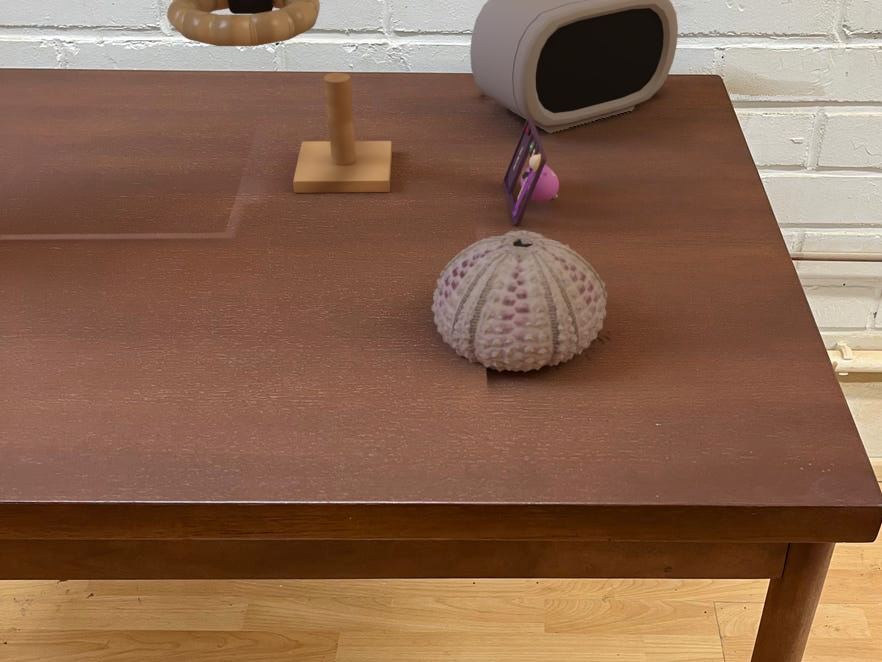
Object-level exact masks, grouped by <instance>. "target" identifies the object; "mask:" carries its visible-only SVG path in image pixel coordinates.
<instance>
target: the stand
mask: <svg viewBox="0 0 882 662" xmlns="http://www.w3.org/2000/svg"><path fill="white" fill-rule="evenodd" d="M323 82H324V84H323V85H324V92H325V94H324V95H325V105H326V115H327V126H328V136H329V141H327V140H324V141H323V140H322V141H321V140H320V141H318V140H317V141H311V140H309V141H301V143H300V144H301V145H300V148H299V153H298V158H297V162H296V167H295V170H294V171H295V172H294V176H293V181H292V183H293V191H294V193H295V194H315V193H316V194H318V193H319V194H321V193H323V194H324V193H327V194H328V193H329V194H331V193H332V194H333V193H334V194H335V193H390V192H391V176H392V159H393V158H392V157H393V144H392V143H393V142H392V140H359V141H358V140H356V138H355V137H356V135H355V122H354V110H353V109H354V108H353V97H352V96H353V95H352V84H351V83H352V82H351V76H350V75H349V74H348V73H345V72H330V73H328V74H326V75H325V76H324V77H323Z"/></svg>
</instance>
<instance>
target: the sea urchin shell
mask: <svg viewBox="0 0 882 662" xmlns="http://www.w3.org/2000/svg"><path fill="white" fill-rule="evenodd" d="M436 284H437V285H436V288H435V289H434V292H433V296H432V299H433V303H432V305H431V306H430V308H431V311H432V312H433V314H434V316H433V322H434V324H435V325H436V326H437V329H436V330H437V332H438V333H439V334H440V335H441V336H442V341H443V343H445V344H447V345H449V346H450V348H452V349H453V350H455V352H456V355H457V356H459V357H463V358H466V359H468V360H469V363H471V364H474V363H480V364H483V366H484V367H485V368H490V369H491V370H496V371H498V372H500V373H501V372H502V371H505V370H507V371H513V372H519V371H523V372H524V373H526V372H529V371H533V370H534V369H535V370H536V371H539V370H540V369H541V368H542V367H544V366H549V367H553V366H558V364H559V363H566V362H567V361H568V360H572V359H573V356H574V355H581V354H582V352H583V350H585V349H588V348H589V347H590V345H591V342H592V341H594V340H596V339H597V338H598V333H599V332H600V331H601V330H603V328H604V320H605V318H607V311H606V306H607V298H608V295H609V294H608V292H607V291H606V289H605V288H606V283H605V281H603V280H602V279H601V278H600V274H599V273H597V271H596V270H595V268H594V267H593V266H592V265H591V264H590V263H589V262H588V261H586V260H585V258H584V257H583V256H581V255H580V254H578V253H577V251H576V250H575V249H571V247H570V245H569V244H563V243H561V242H560V241H558V240H554V239H551V238H548V237H547V236H544V235H542V234H541V232H539V233H537V232H536V231H535V232H534V231H529V230H526V229H525V230H524V229H521V230H520V229H519V230H516V231H514V230H510V231H507V232H505V234H501V235H497V236H495V235H494V236H493V235H491V236H490V237H488V238H485V237H483V238H482V239H481V240H479V241H477V240H476V241H474V242H473V243H472V244H470V245H468V246H467V247H466V248H464V249H462V250H461V251H460V252H459V253H458V254H456V255H455V256H454V257H453V258H452V259H451V260H450V261H449V262H448V263H447V264H446V265H445V267H444V269H442V270H441V272H440V275H439V278H437V279H436Z"/></svg>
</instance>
